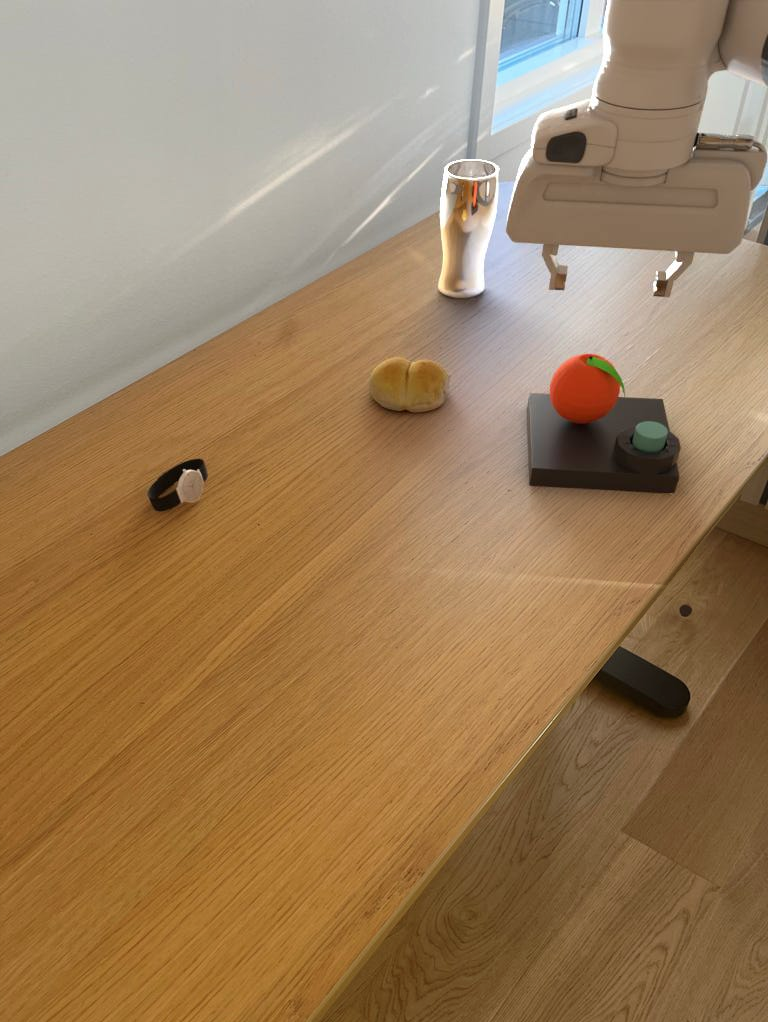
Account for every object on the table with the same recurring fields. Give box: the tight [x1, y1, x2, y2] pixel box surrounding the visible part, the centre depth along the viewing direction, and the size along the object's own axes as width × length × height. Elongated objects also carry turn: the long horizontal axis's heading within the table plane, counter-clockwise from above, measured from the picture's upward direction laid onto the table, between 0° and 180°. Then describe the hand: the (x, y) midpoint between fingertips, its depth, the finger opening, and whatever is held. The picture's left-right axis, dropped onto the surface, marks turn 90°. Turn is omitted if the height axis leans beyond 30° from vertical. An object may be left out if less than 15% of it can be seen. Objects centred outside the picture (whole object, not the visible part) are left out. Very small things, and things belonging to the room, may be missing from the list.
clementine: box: [549, 353, 626, 424], centre depth 96 cm, size 8×7×7 cm
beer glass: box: [437, 159, 500, 299], centre depth 120 cm, size 7×7×15 cm
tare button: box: [632, 421, 668, 452], centre depth 92 cm, size 3×3×2 cm
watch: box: [147, 458, 209, 512], centre depth 95 cm, size 8×5×4 cm, turn 147°
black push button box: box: [526, 392, 682, 495], centre depth 97 cm, size 14×14×4 cm
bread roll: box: [368, 356, 451, 413], centre depth 106 cm, size 8×9×4 cm
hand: (608, 291), depth 89 cm, fingers open, 8 cm apart
